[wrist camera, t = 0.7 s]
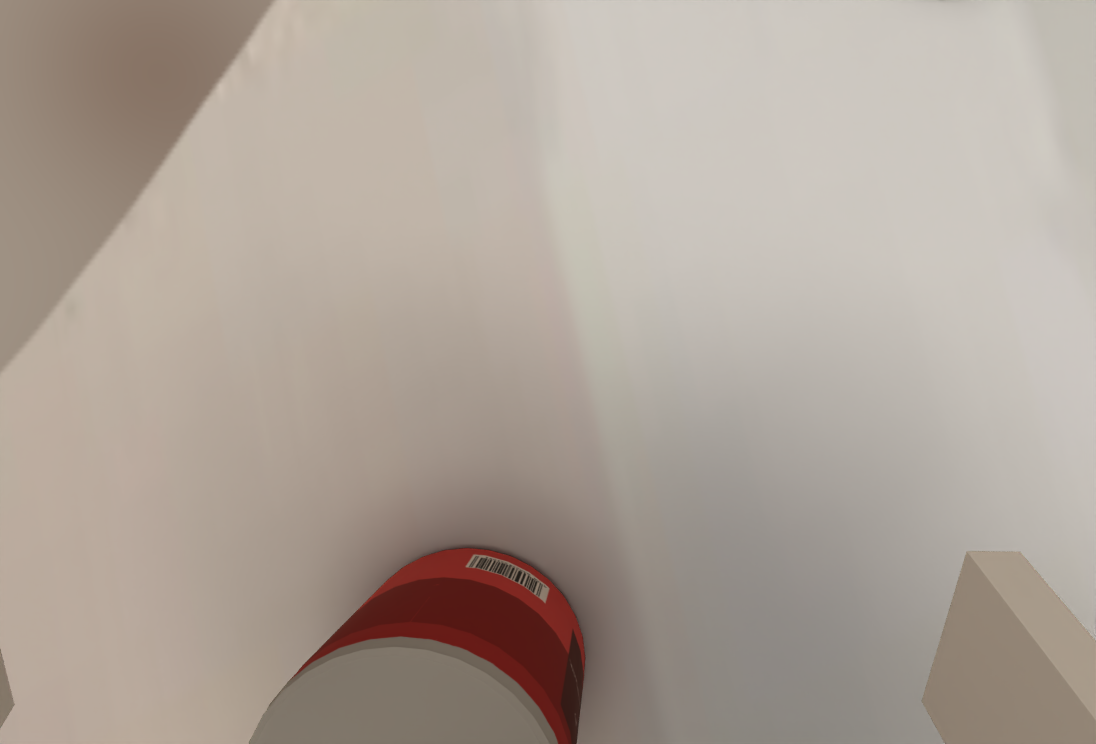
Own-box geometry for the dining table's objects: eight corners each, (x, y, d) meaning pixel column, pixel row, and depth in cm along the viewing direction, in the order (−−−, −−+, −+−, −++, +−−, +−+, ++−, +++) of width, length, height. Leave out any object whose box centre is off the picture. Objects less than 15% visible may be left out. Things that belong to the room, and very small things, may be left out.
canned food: (336, 575, 33) (195, 693, 22) (550, 514, 33) (512, 605, 22) (399, 779, 34) (290, 995, 23) (613, 722, 33) (607, 917, 22)
